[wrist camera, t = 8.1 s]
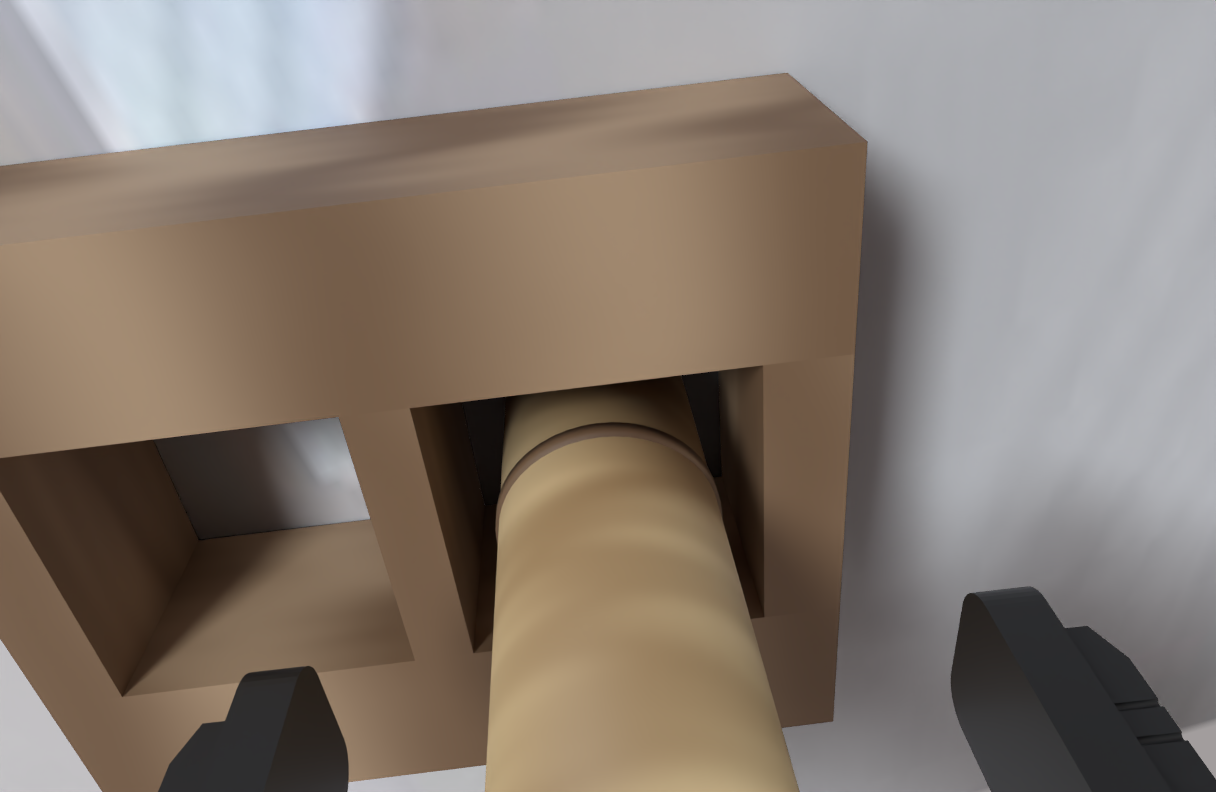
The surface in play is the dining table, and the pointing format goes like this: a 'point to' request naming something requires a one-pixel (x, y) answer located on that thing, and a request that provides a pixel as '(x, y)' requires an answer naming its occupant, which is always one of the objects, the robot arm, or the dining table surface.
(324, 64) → the dining table surface
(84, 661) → the board
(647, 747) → the peg
